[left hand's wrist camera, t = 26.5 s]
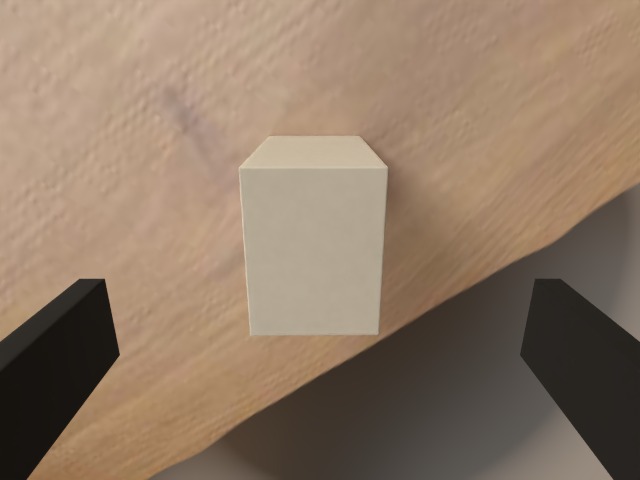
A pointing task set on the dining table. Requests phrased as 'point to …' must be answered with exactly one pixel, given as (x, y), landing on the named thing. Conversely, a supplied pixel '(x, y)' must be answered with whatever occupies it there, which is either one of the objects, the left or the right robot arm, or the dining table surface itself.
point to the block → (314, 235)
